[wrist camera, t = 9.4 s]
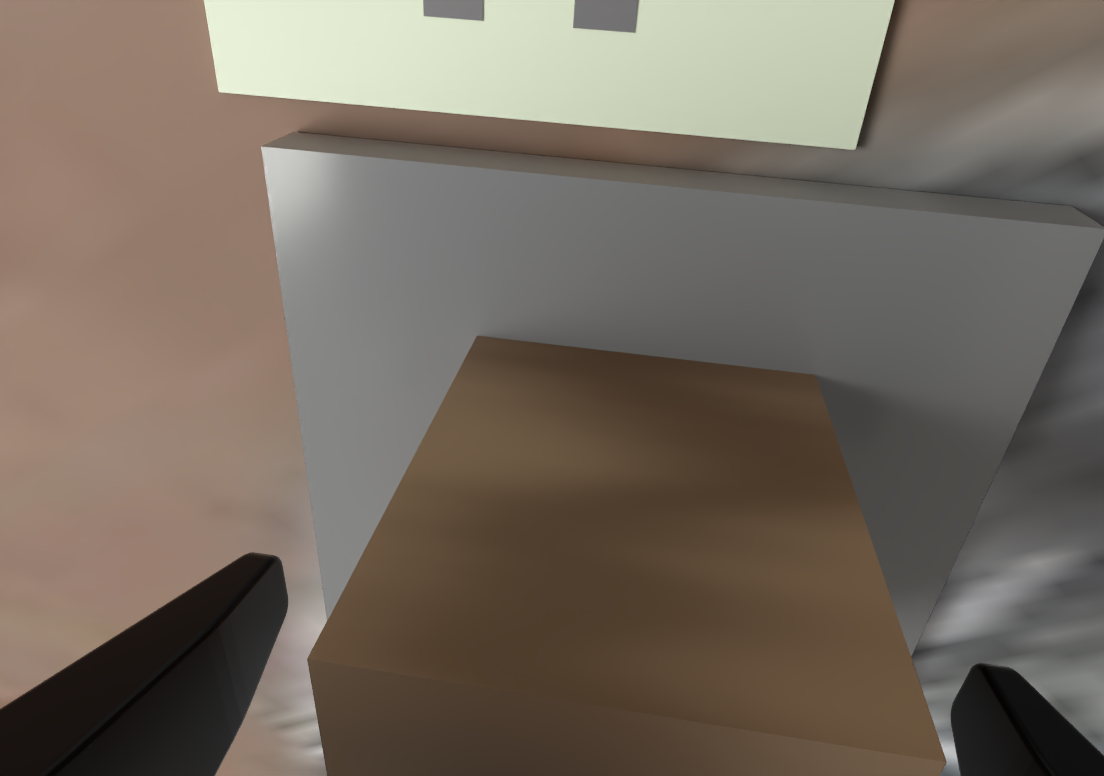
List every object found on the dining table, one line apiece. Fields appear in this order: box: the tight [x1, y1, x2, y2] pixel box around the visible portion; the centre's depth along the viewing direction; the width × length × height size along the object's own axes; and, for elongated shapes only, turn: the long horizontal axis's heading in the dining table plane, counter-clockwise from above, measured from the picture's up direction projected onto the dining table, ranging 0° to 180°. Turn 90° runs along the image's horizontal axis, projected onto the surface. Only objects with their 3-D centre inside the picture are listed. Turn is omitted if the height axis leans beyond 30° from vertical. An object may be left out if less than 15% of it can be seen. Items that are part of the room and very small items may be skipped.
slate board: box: [261, 132, 1104, 656], centre depth 13 cm, size 11×10×1 cm
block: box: [307, 336, 947, 776], centre depth 10 cm, size 5×5×6 cm
